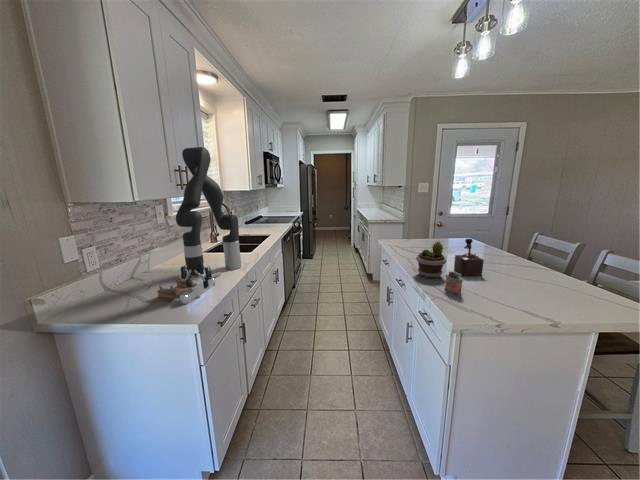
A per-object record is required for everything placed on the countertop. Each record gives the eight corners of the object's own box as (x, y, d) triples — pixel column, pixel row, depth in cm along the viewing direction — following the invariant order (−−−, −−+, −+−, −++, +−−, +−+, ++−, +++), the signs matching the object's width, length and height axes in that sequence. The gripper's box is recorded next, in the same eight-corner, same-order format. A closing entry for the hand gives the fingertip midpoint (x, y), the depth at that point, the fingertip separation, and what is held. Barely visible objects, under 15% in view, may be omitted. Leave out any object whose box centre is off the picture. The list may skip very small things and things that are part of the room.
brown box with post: (483, 276, 135) (488, 243, 131) (462, 276, 135) (466, 244, 131) (467, 267, 150) (470, 237, 146) (448, 267, 150) (451, 237, 146)
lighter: (442, 289, 119) (444, 269, 117) (447, 288, 121) (449, 268, 119) (457, 296, 112) (459, 275, 110) (462, 295, 114) (465, 274, 111)
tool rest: (183, 284, 132) (181, 273, 131) (197, 285, 131) (195, 274, 130) (154, 300, 114) (152, 288, 113) (169, 301, 113) (167, 289, 112)
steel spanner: (210, 284, 132) (209, 277, 131) (216, 284, 131) (215, 277, 131) (179, 305, 110) (177, 296, 109) (185, 305, 109) (184, 297, 108)
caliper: (205, 287, 129) (204, 275, 127) (203, 287, 129) (202, 275, 127) (222, 273, 149) (220, 263, 147) (220, 273, 149) (219, 263, 147)
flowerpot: (422, 281, 130) (425, 243, 126) (411, 271, 145) (413, 237, 141) (450, 280, 131) (454, 242, 126) (436, 270, 146) (438, 236, 141)
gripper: (212, 252, 119) (216, 285, 122) (185, 252, 121) (189, 283, 124) (202, 257, 111) (206, 291, 115) (174, 256, 114) (178, 289, 117)
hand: (197, 287), depth 120 cm, fingers open, 8 cm apart
